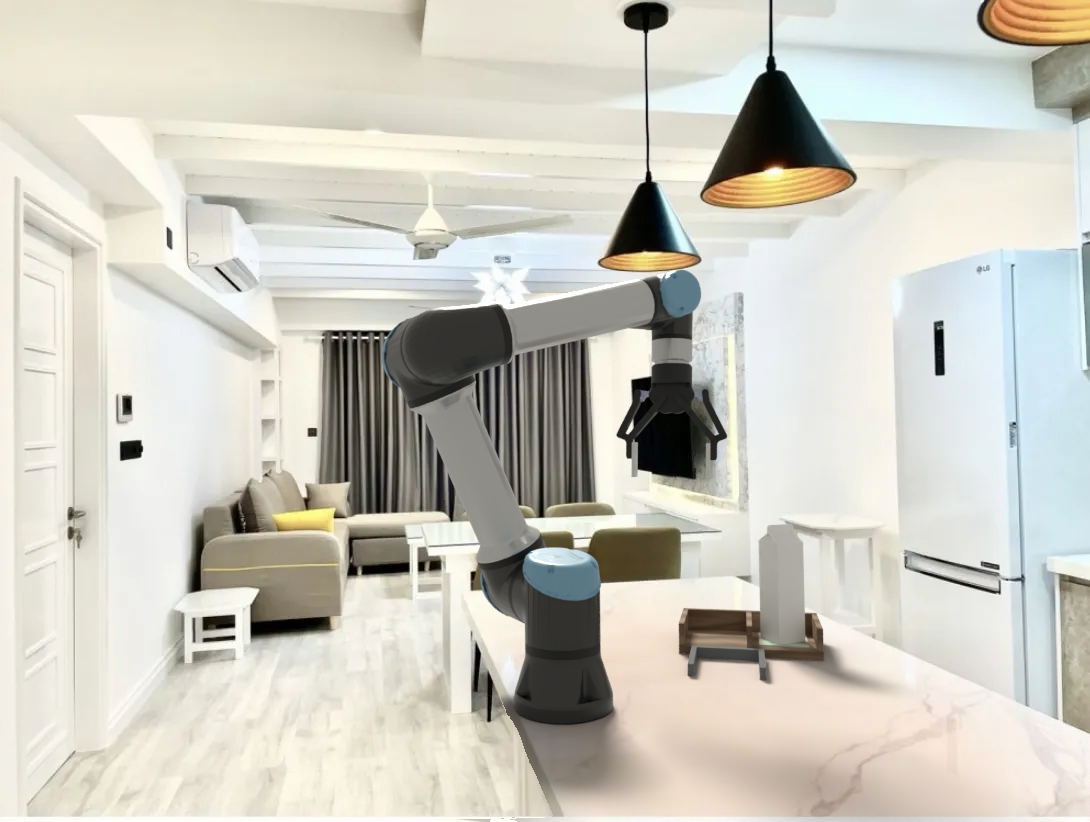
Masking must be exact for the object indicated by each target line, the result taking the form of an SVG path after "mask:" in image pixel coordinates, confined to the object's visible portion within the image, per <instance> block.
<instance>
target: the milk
mask: <svg viewBox="0 0 1090 822" xmlns="http://www.w3.org/2000/svg"><path fill="white" fill-rule="evenodd" d="M766 527H767V528H766V534H764V535H763V536H761V538H760V539H758V568H759V569H758V573H759V575H758V576H759V579H758V580H759V583H758V584H759V611H760V630H761V638H763V639H766V640H768V641H771V642H773V643H776V644H778V645H783V644H791V643H798V642H805V613H806V611H805V610H806V609H805V607H806V606H805V569H804V568H805V567H804V565H805V564H804V542H803V540H802V539H801V538H800V537H799V536H798V535H797V534H796V533H795V532H794V524H793V523H784V524H783V523H781V524H770V525H769V524H768V525H767V526H766Z"/></svg>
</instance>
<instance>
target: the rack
mask: <svg viewBox="0 0 1090 822" xmlns="http://www.w3.org/2000/svg"><path fill="white" fill-rule="evenodd" d="M692 645H693V646H714V647H735V648H755V649H764V653H765V659H781V660H782V659H783V660H785V659H786V660H801V661H802V660H803V661H804V660H805V661H819V662H820V661H825V652H824V628H823V625H822V623H821V621H820V618H819V616H818V614H817V612H805V642H798V643H791V644H783V645H778V644H776V643H773V642H771V641H768V640H766V639H763V638H761V630H760V610H751V609H750V610H748V609H747V610H746V609H745V610H744V609H743V610H742V609H723V608H722V609H720V608H717V609H716V608H695V607H693V608H691V607H690V608H688V607H683V608H682V612H681V615H680V618H679V621H678V654H682V653H686V654H687V655H690V651H691V647H692Z"/></svg>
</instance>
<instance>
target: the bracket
mask: <svg viewBox="0 0 1090 822" xmlns="http://www.w3.org/2000/svg"><path fill="white" fill-rule="evenodd" d="M688 655H689V657H688V661H687V676H689V675H694V676H695V672H694V671H696V666H697V660H698V659H709V660H711V659H713V660H728V661H730V660H732V661H747V662H748V661H749V662H758V669H759V680H760V681H762V680H763V681H766V680H767V664H766V658H765V653H764V649H755V648H735V647H714V646H693V645H692V647H691V651H690V654H688Z"/></svg>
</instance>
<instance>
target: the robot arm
mask: <svg viewBox="0 0 1090 822" xmlns="http://www.w3.org/2000/svg"><path fill="white" fill-rule="evenodd" d="M701 299H702V289H701V286H700V282H699V280H698V279H697V277H696V276H695V275H694V274H693V273H692V272H690V271H688V270H685V269H676V270H669V271H666V272H664V273H661V274H656V275H651V276H646V277H643V278H639V279H632V280H627V281H623V282H617V283H612V284H604V285H603V284H602V285H601V286H598V287H593V288H587V289H582V290H578V291H572V292H568V293H561V294H558V295H553V296H547V297H543V298H539V299H538V298H537V299H533V300H528V301H524V302H523V301H522V302H518V303H514V304H509V305H508V304H507V305H503V304H501V303H499V301H495V300H494V301H488V302H483V303H477V304H476V303H475V304H469V305H460V306H445V307H444V306H443V307H437V308H432V309H428V310H427V309H426V310H425V311H422V312H421V313H419V314H417V315H415V316H412V317H409V318H406V319H405V320H403V321H401V322H398V324H396V326H394V327H393V329H391V330H390V332H389V333H388V335H387V336H386V338H385V340H384V342H383V345H382V349H381V363H382V367H383V370H384V372H385V375H386V376H387V377H388V378H389V380H390V381H391V382H392V383H393V385H395V386H396V387H397V388H400V390H401V392H402V396H403V397H404V399H405V401H406V403H407V406H408V408H409V410H410V411H411V412H414V413H416V414H419V415H421V416H422V417H423V418H424V421H425V423H426V426H427V428H428V430H429V433H430V435H431V437H432V440H433V441H434V444H435V446H436V449H437V451H438V453H439V455H440V458H441V460H442V462H443V465H444V466H445V469H446V471H447V474H448V477H449V478H450V480H451V483H452V485H453V487H454V489H455V492H456V493H457V496H458V498H459V499H458V500H459V501H460V503H461V505H462V507H463V510H464V512H465V515H466V517H467V519H468V521H469V523H470V526H471V528H472V530H473V533H474V534H475V537H476V539H477V542H478V544H479V548H478V550H477V553H476V555H475V560H476V563H477V565H478V566H479V569H480V571H481V572H480V573H479V574H480V575H479V576H480V578H479V579H480V580H479V581H480V587H481V590H482V593H483V595H484V597H485V599H486V600H487V602H488V603H489V604H490V605H491V607H493V609H495V610H496V611H497V612H499V613H501V615H504V616H506V617H510V618H512V619H514V620H516V621H518V622H521V623H523V624H524V651H525V652H524V658H523V659H524V660H523V662H522V666H521V669H520V673H519V675H518V679H517V683H516V686H515V690H514V696H513V698H514V701H513V702H514V703H513V704H514V711H516V713H517V714H519V715H520V716H521V717H524V718H526V719H529V720H533V721H536V722H541V723H546V724H547V723H549V724H578V723H584V722H590V721H594V720H597V719H600V718H603V717H605V716H606V715H608V714H610V713H611V712H612V711H613V709H614V692H613V691H614V690H613V689H612V685H611V682H610V680H609V677H608V673H607V670H606V667H605V664H604V661H603V657H602V651H601V650H602V648H601V641H602V640H601V639H602V638H601V637H602V636H601V586H602V580H601V577H600V576H601V575H600V568H599V563H598V561H597V560H596V559H595V557H594V556H592V555H591V554H589V553H587V552H585V551H582V550H579V549H569V548H567V547H547V546H546V543H545V540H544V538H543V535H542V534H541V532H540V529H539V528H536V527H534V526H531V525H528V523H527V522H526V519H525V516H524V514H523V512H522V510H521V508H520V505H519V503H518V500H517V498H516V496H515V494H514V492H513V491H514V490H513V489H512V487H511V484H510V482H509V480H508V476H506V473H505V470H504V468H503V465H502V463H501V460H500V458H499V457H498V453H497V451H496V449H495V447H494V446H495V445H494V444H493V442H492V439H491V437H490V435H489V433H488V429H487V428H486V425H485V423H484V421H483V419H482V416H481V414H480V411H479V409H478V406H477V405H476V402H475V400H474V398H473V392H474V388H475V386H476V383H477V381H476V378H475V376H474V375H476V374H478V373H481V372H484V371H487V370H489V369H492V368H496V367H499V366H504V365H507V364H510V363H511V362H512V360H513V358H514V356H517V355H520V354H524V353H529V352H533V351H537V350H543V349H545V348H546V349H547V348H551V347H555V346H560V345H563V344H569V343H573V342H576V341H581V340H584V339H589V338H593V337H596V336H601V335H605V334H609V333H613V332H619V331H623V330H627V329H630V330H631V329H634V330H643V331H644V330H645V331H651V362H652V363H654V364H652V365H651V375H650V376H651V380H650V381H651V382H650V383H651V387H650V389H649V390H648V391H647V390H641V389H638V388H636V389H634V392H633V400H632V402H631V404H630V406H629V408H628V411H627V412H626V413H625V416H624V418H623V419H622V422H621V424H620V426H619V428H618V429H617V432H616V435H615V436H616V437H617V438H618V439H621V440H624V442H625V457H626V459H630V460H631V478H637V477H638V476H639V475H638V472H639V471H638V469H639V468H638V467H639V466H638V464H639V462H638V459H639V458H638V457H639V455H638V454H639V451H638V450H639V449H638V447H639V443H638V441H637V442H636V441H634V440H635V439H636V438H637V437H638V435H640V433H642V431H643V430H644V428H646V427H647V425H648V424H650V422H651V421H652V420H653V418H654V417H655V416H656V415H657V414H658V413H659V412H660V413H662V414H664V415H665V414H676V415H677V414H678V415H679V414H682V413H684V412H685V413H686V415H687V416H689V417H690V419H691V420H692V421H693V422H694V424H696V426H697V427H698V429H700V430H701V432H702V433H703V434H704V435H705V437H706V438H707V439H708V440H709V442H707V443H705V479H706V480H711V479H712V461H717V459H718V443H719V442H721V441H724V440H726V439H727V438H728V434H727V432H726V430H725V428H724V426H723V424H722V422H721V420H720V418H719V415H717V412H716V410H715V408H714V406H713V405H712V402H711V397H710V391H709V390H708V389H707V388H703V389H700V390H694V389H693V366H692V365H691V364H690V363H691V362H692V361H693V322H694V321H693V319H694V318H693V317H694V315H693V313H694V311H695V310H696V309H697V308H698V306H699V305H700V302H701ZM695 397H696V398H697V399H698V400H699V402H702V403H703V405H704V408H705V409H706V411H707V413H708V415H709V418H710V419H711V421H712V424H713V425H714V428H715V429H716V431H717V434H714V433H713V431H712V430H711V429H710V428H709V427H708V426H707V424H705V422H704V421H703V420H702V419H701V417H700V416H699V415H698V414H697V413H696V412H695V410H694V409H693V407H691V406H690V404H691V403H692V402H693V400H694V398H695ZM647 398H649V399H650V401H651V402H652V404H653V405H652V406H650V408H649V409H648V410H647V412H646V413H645V414H644V415H643V416H642V418H641V419H640V420H639V421H638V422H637V424H635V426H634V427H633V428H632V429H631V430H630V432H628V430H629V428H630V426H631V425H632V422H633V421H634V419H635V416H636V415H637V413H638V410H639V408H640V407H641V404H642V403H643V402H645V400H646V399H647ZM627 432H628V433H627Z"/></svg>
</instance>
